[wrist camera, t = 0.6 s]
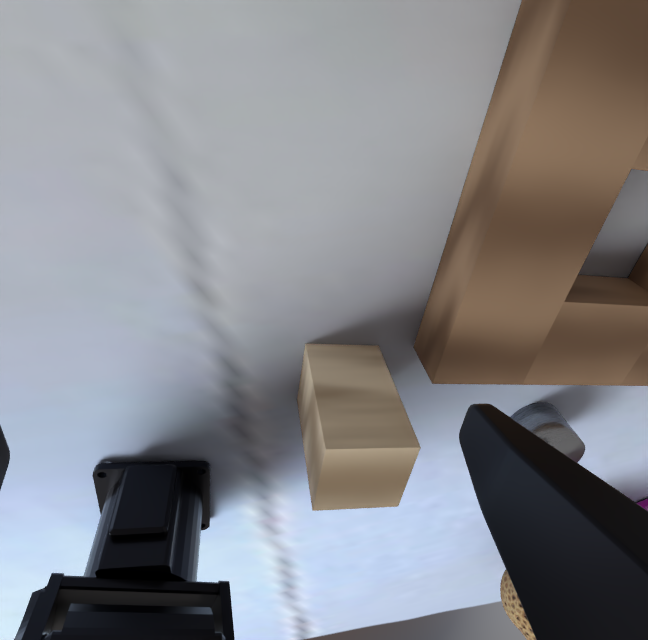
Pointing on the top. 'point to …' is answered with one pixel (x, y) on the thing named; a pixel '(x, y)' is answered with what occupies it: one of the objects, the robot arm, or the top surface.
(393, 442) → the tan cardboard cuboid
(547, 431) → the grey metal cylinder
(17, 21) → the top surface
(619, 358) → the hole block
